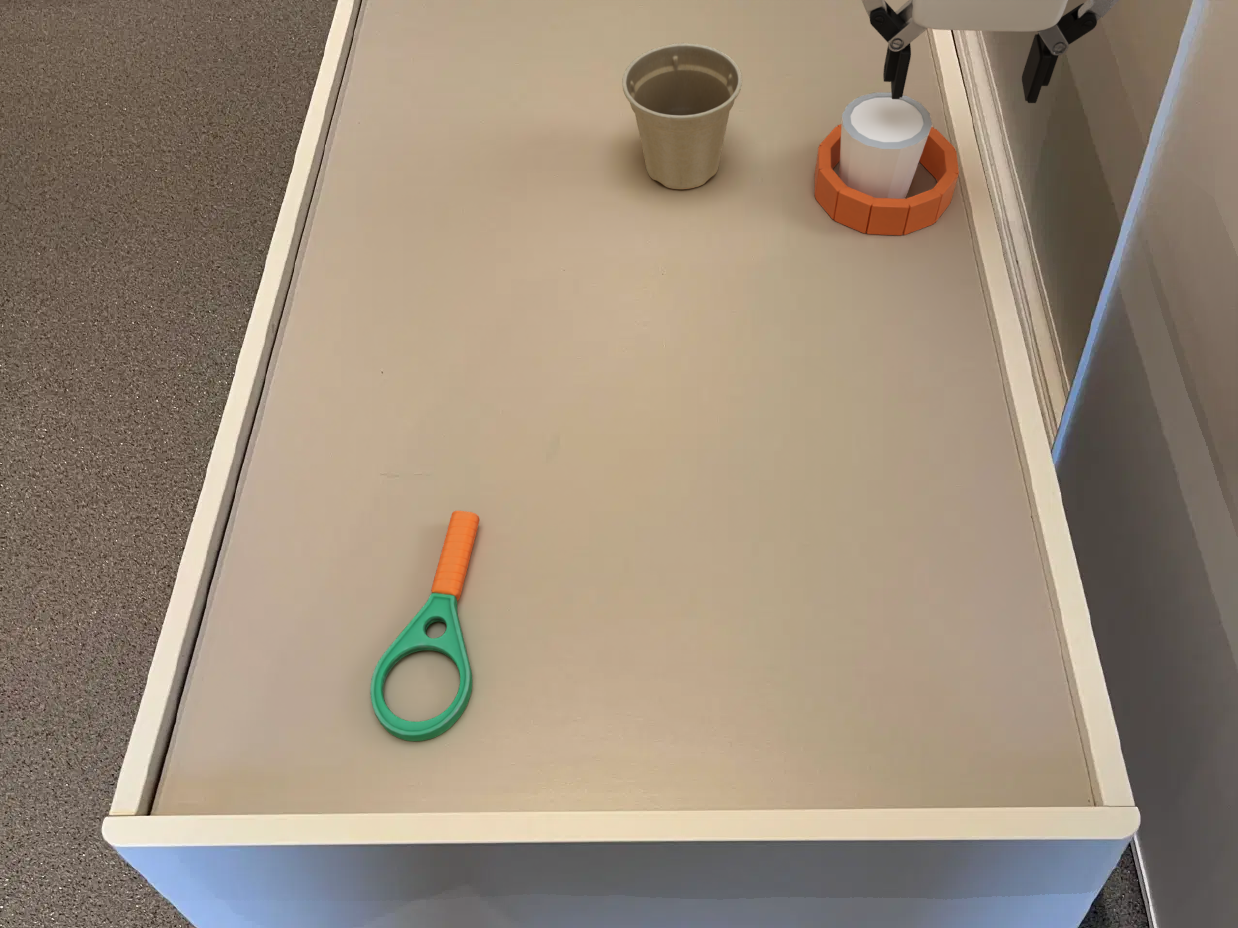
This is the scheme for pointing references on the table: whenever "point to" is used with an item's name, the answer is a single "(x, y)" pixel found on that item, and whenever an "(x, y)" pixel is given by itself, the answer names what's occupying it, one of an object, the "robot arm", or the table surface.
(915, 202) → the ring
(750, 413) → the table surface
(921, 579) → the table surface
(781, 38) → the table surface
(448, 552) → the magnifying glass
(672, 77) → the flower pot
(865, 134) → the white cylinder
